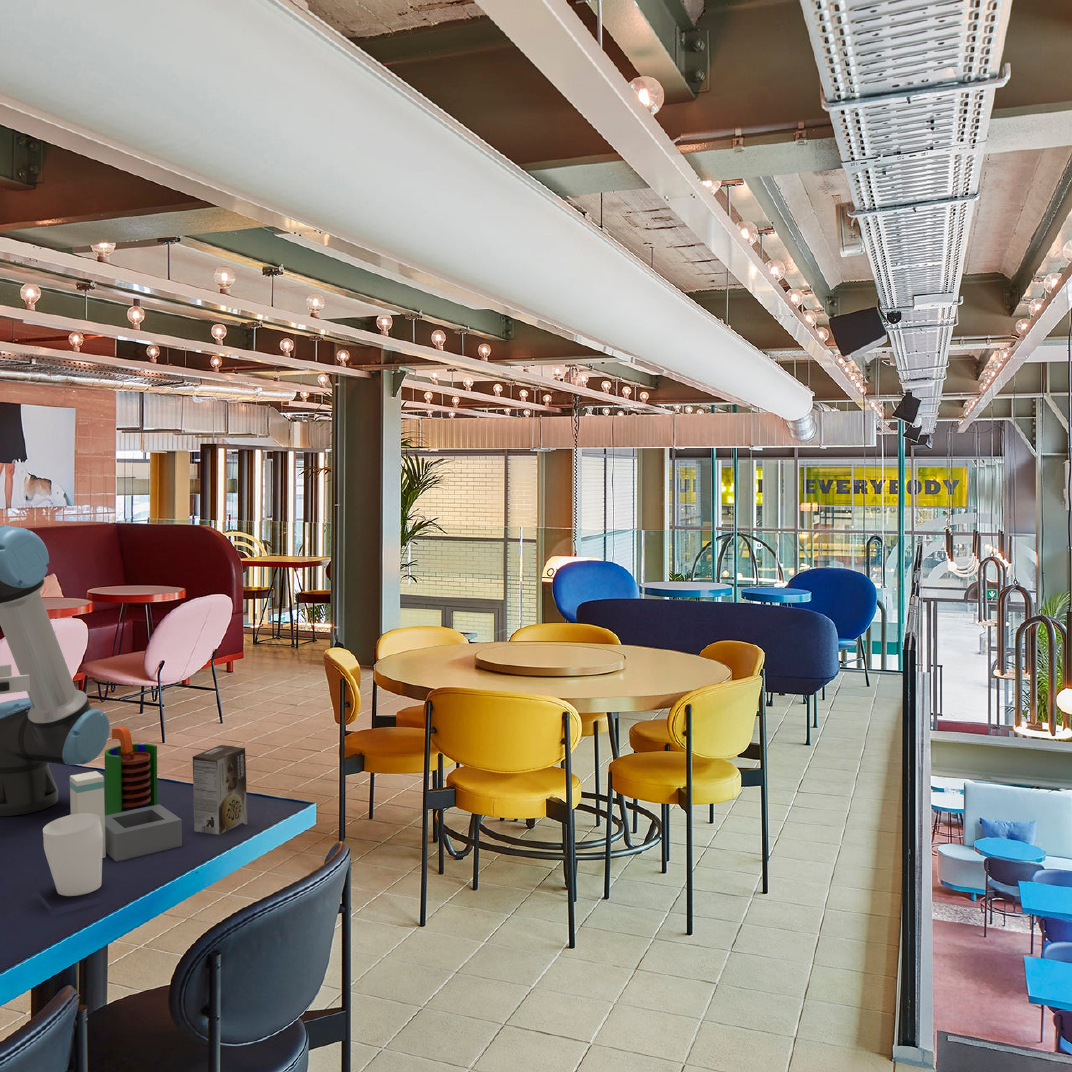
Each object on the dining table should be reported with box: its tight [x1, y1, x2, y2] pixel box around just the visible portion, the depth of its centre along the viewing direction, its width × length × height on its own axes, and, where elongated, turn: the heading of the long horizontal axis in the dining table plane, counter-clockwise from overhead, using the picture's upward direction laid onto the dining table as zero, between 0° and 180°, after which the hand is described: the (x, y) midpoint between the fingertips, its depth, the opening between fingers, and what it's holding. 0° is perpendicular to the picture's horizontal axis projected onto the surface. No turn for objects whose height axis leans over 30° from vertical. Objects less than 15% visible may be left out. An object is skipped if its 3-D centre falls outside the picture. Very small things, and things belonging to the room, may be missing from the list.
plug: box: [69, 770, 107, 859], centre depth 176 cm, size 5×5×16 cm
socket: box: [105, 803, 183, 862], centre depth 182 cm, size 12×12×6 cm
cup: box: [42, 813, 103, 897], centre depth 162 cm, size 9×9×12 cm
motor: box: [104, 726, 158, 816], centre depth 195 cm, size 10×9×20 cm
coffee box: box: [192, 744, 248, 835], centre depth 193 cm, size 9×6×16 cm
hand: (20, 676), depth 172 cm, fingers open, 13 cm apart
